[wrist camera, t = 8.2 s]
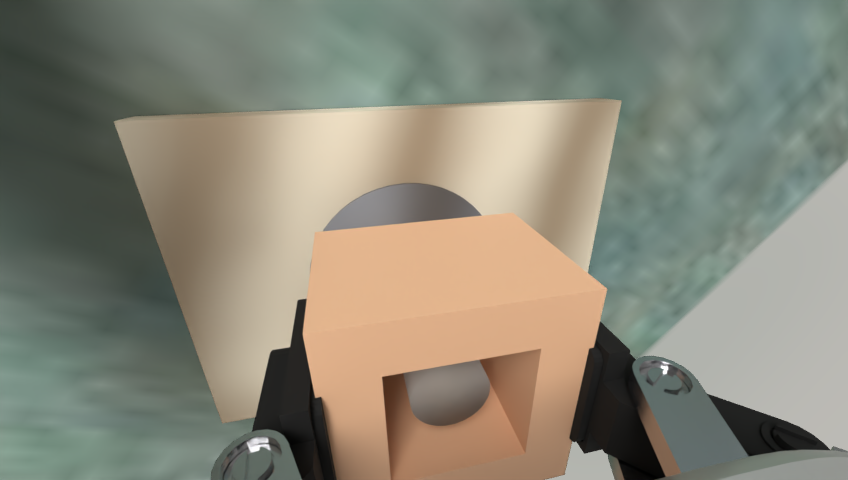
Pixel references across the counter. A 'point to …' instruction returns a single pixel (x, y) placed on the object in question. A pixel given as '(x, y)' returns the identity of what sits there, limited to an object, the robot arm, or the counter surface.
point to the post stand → (349, 211)
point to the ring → (448, 345)
